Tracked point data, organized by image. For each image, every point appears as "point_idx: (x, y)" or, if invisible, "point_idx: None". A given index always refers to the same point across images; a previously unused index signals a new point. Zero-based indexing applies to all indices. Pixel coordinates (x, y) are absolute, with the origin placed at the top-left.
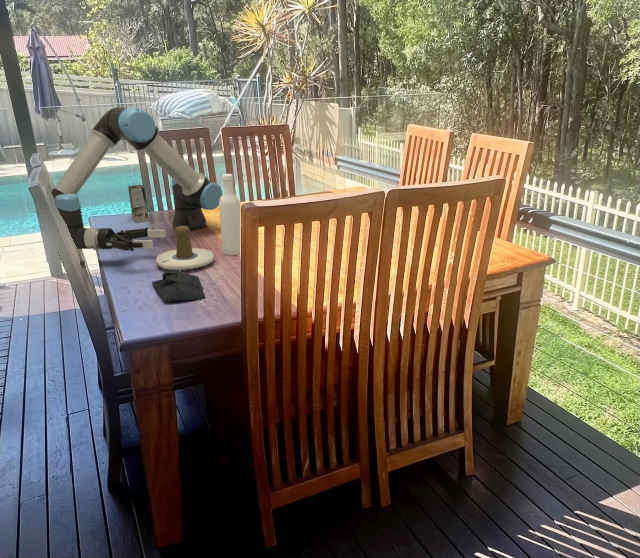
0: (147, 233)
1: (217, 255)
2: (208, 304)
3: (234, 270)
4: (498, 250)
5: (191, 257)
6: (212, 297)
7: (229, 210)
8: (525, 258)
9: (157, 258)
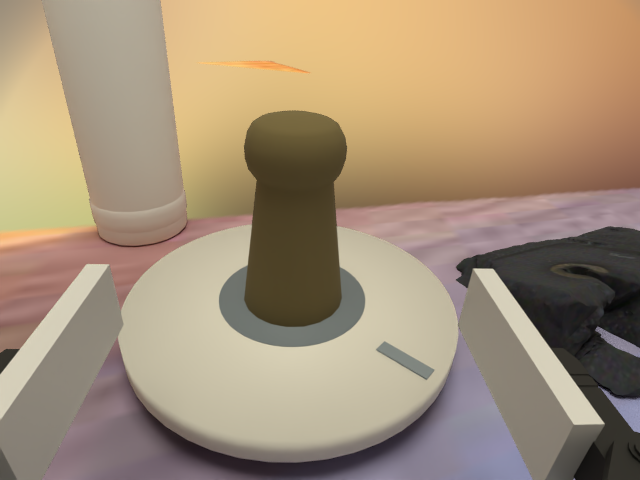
0: (9, 465)
1: None
2: (634, 222)
3: (352, 209)
4: (233, 66)
5: None
6: (585, 222)
7: (160, 15)
8: (267, 64)
9: (349, 424)
